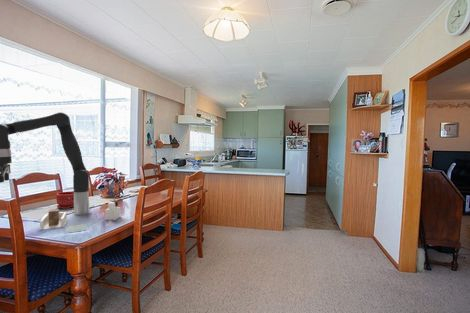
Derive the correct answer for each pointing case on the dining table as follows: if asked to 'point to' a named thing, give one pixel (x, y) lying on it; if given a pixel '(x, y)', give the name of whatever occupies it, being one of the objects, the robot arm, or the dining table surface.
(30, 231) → the dining table surface
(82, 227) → the grey-green mat
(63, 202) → the plant pot
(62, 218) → the cream curved tray
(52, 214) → the walnut block
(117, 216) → the medicine bottle
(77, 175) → the robot arm
